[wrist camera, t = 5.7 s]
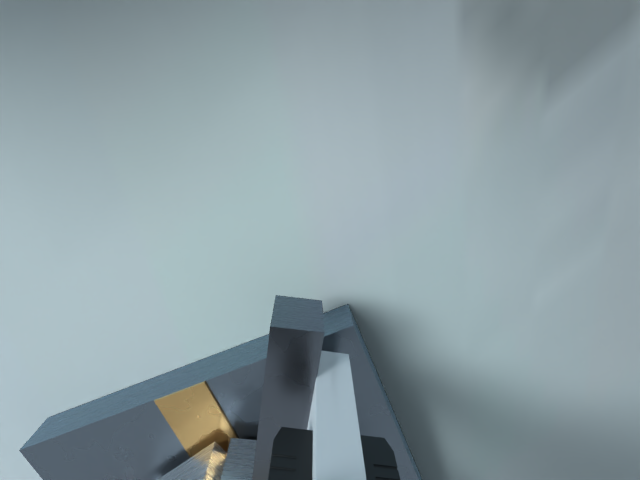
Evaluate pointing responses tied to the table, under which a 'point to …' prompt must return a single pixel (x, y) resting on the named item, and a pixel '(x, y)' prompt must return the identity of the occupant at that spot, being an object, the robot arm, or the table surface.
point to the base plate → (198, 414)
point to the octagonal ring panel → (270, 396)
